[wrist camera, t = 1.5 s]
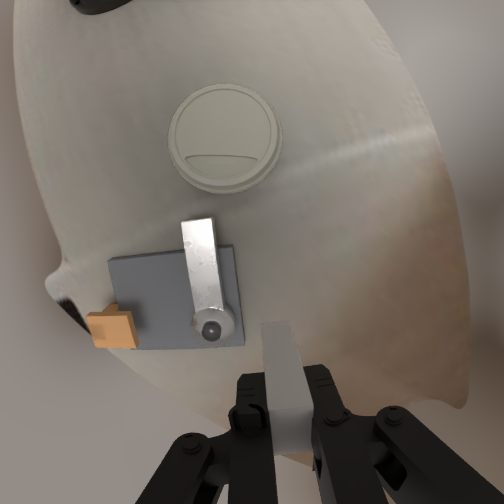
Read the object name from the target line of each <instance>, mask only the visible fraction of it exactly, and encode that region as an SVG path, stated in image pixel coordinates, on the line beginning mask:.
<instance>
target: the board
mask: <svg viewBox="0 0 504 504" xmlns="http://www.w3.org/2000/svg"><path fill="white" fill-rule="evenodd" d="M218 254H219V261H220V269H221V276H222V283H223V290H224V297H225V303H226V304H227V305H229V306H230V307H231V308H232V310H233V312H234V314H235V318H236V322H235V332H234V336H233V338H232V340H231V341H230V342H229V343H228V344H226V345H224V346H222V347H230V346H243V345H245V336H244V329H243V321H242V313H241V306H240V298H239V290H238V282H237V274H236V266H235V257H234V249H233V245H224V246H218ZM108 266H109V271H110V275H111V280H112V284H113V288H114V293H115V297H116V301H117V304H118V308H119V311H131V314H132V318H133V322H134V325H135V329H136V332H137V336H138V339H139V345H138V346H137V348H130V349H132V350H160V349H196V348H211V347H206V346H204V345H202V344H200V343H199V342H197V341H196V340H195V338H194V337H193V336H192V333H191V330H190V323H191V320H192V317H193V315H194V313H195V307H194V301H193V296H192V290H191V284H190V279H189V273H188V266H187V260H186V254H185V250H178V251H169V252H160V253H151V254H142V255H133V256H124V257H116V258H112V259H110V260H108Z"/></svg>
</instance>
